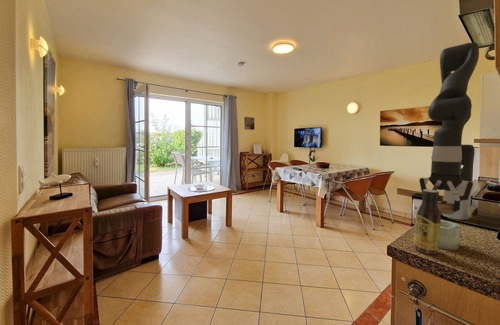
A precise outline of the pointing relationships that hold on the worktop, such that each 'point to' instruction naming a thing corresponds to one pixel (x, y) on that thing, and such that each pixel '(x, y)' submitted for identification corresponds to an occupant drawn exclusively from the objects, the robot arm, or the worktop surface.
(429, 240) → the sauce bottle
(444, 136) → the robot arm
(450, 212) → the lid
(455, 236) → the jar
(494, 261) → the worktop surface
